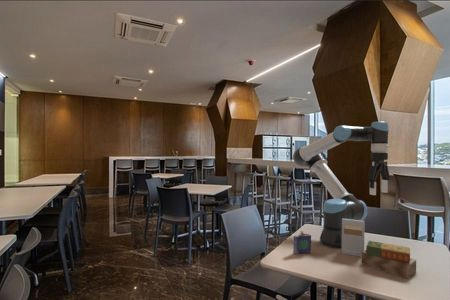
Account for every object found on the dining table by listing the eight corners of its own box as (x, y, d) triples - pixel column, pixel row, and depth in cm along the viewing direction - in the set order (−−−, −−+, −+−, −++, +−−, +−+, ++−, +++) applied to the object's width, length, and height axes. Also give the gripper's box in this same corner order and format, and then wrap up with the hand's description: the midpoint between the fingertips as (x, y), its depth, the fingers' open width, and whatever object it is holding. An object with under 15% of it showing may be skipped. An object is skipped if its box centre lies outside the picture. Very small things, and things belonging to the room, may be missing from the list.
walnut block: (361, 263, 122) (361, 252, 122) (371, 257, 128) (371, 247, 128) (407, 278, 108) (407, 266, 108) (416, 271, 114) (416, 260, 114)
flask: (294, 255, 130) (295, 232, 130) (291, 253, 133) (292, 231, 133) (311, 253, 132) (312, 231, 132) (308, 251, 135) (308, 229, 135)
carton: (410, 263, 110) (410, 253, 110) (365, 254, 119) (365, 244, 119) (410, 256, 117) (410, 247, 117) (368, 248, 126) (368, 239, 126)
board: (341, 250, 137) (342, 217, 137) (363, 253, 133) (364, 220, 133) (341, 253, 133) (341, 219, 133) (364, 257, 129) (364, 222, 129)
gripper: (376, 152, 128) (375, 197, 128) (397, 152, 144) (396, 192, 144) (360, 151, 134) (359, 194, 134) (382, 152, 149) (381, 190, 150)
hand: (378, 193), depth 139 cm, fingers open, 13 cm apart
